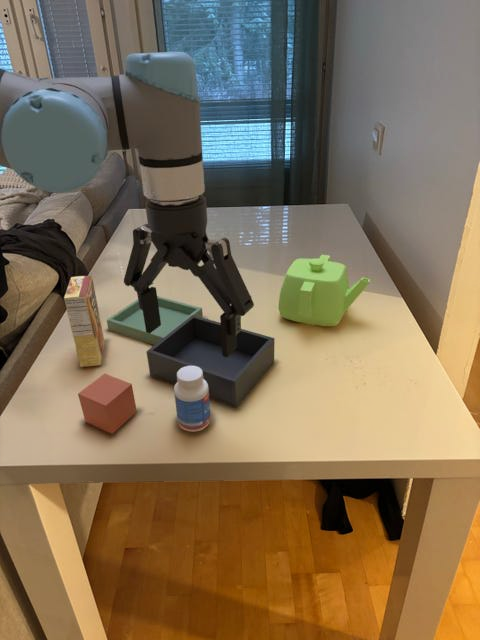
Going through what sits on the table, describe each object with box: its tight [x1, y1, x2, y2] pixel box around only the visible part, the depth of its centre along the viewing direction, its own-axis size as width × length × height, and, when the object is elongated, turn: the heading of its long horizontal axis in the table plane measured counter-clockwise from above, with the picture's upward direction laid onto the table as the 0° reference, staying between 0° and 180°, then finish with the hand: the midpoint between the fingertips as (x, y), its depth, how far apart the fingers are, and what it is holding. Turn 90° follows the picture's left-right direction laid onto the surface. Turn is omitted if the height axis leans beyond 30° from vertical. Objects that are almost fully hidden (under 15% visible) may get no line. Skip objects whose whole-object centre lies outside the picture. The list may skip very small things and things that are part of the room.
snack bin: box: [146, 315, 276, 408], centre depth 87 cm, size 19×15×6 cm
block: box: [77, 373, 138, 435], centre depth 76 cm, size 6×6×6 cm
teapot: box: [278, 254, 371, 327], centre depth 101 cm, size 18×20×13 cm
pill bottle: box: [173, 366, 212, 432], centre depth 74 cm, size 6×5×10 cm
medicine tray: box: [106, 295, 204, 346], centre depth 102 cm, size 16×14×3 cm
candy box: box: [63, 275, 106, 368], centre depth 89 cm, size 9×4×15 cm, turn 10°
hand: (190, 339), depth 68 cm, fingers open, 13 cm apart
